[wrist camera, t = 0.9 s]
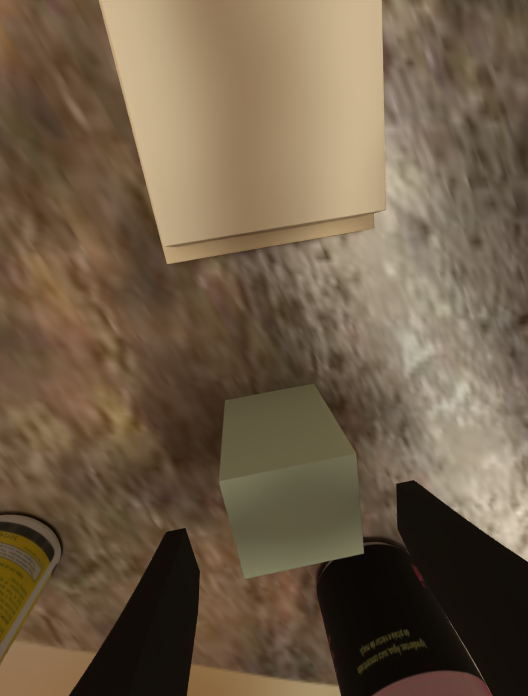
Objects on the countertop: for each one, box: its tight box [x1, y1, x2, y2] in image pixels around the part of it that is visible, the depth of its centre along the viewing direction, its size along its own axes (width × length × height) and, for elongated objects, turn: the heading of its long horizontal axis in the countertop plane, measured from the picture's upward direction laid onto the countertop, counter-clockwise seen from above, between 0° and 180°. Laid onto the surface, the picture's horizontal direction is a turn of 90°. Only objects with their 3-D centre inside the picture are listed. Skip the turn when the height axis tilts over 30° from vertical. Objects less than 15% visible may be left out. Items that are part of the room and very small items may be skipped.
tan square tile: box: [101, 0, 386, 247], centre depth 9 cm, size 7×7×2 cm
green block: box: [219, 384, 364, 579], centre depth 13 cm, size 4×4×6 cm
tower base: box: [99, 0, 374, 264], centre depth 11 cm, size 8×8×2 cm
